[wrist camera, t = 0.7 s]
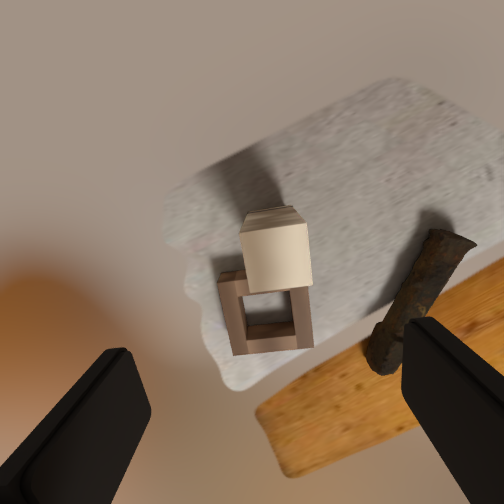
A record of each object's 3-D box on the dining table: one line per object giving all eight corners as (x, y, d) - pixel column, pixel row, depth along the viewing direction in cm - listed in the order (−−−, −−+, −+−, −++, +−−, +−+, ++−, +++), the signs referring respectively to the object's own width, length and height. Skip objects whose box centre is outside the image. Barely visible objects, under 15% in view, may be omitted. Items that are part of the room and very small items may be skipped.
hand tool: (425, 222, 27) (456, 232, 23) (456, 235, 28) (493, 247, 23) (346, 350, 33) (359, 377, 29) (373, 359, 33) (389, 387, 29)
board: (302, 262, 29) (306, 271, 26) (309, 332, 32) (314, 347, 29) (221, 273, 30) (216, 283, 27) (235, 340, 33) (233, 355, 30)
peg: (289, 202, 27) (307, 222, 16) (293, 241, 29) (313, 285, 17) (248, 208, 28) (238, 232, 16) (255, 246, 29) (249, 293, 18)
